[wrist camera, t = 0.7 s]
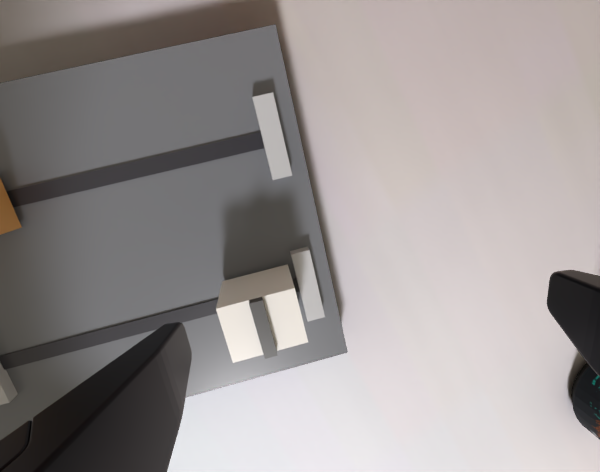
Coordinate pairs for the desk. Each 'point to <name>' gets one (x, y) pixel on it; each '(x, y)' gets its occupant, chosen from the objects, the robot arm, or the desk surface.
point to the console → (152, 214)
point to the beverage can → (587, 399)
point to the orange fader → (7, 213)
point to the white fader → (260, 314)
